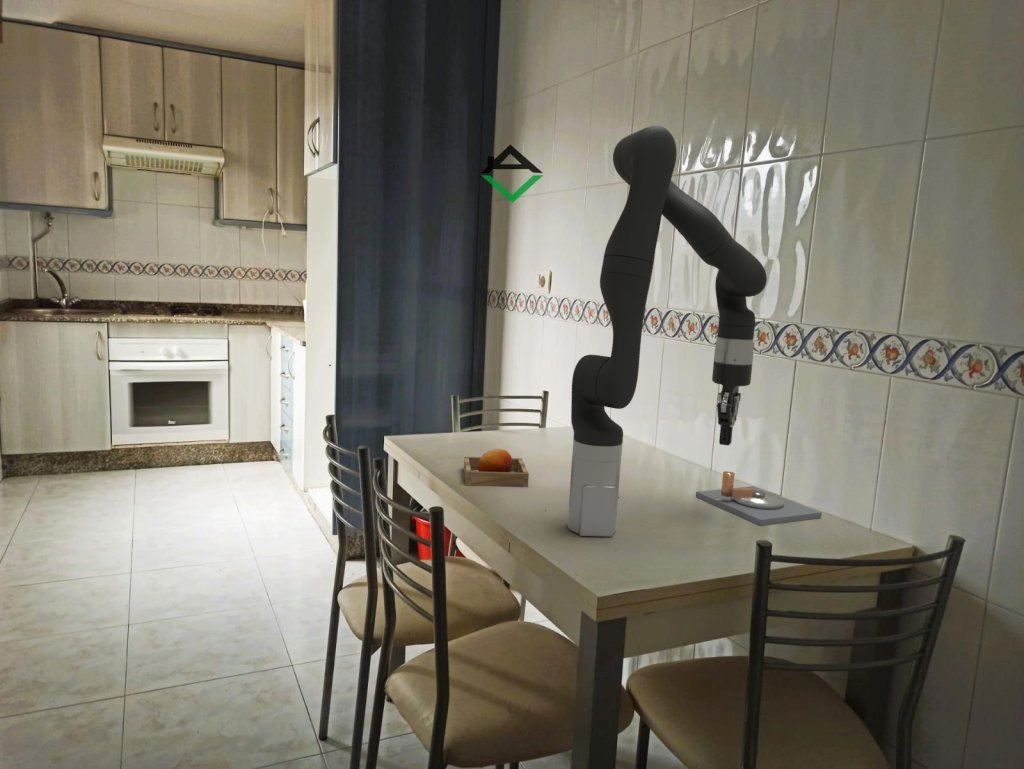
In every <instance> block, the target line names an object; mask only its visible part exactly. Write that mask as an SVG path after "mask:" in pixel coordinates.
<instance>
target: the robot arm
mask: <svg viewBox="0 0 1024 769" xmlns="http://www.w3.org/2000/svg"><path fill="white" fill-rule="evenodd" d="M676 144H677V143H676V141H675V138H674V136H673V134H672V133H671V131H670V130H668V129H667V128H666V127H664V126H661V125H651V126H647V127H645V128H642V129H640V130H637V131H636V132H633V133H630V134H629V135H627V136H625V137H623V138H622V139H620V140H619V141H618V142H617V143H616V145H615V147H614V149H613V153H612V162H613V165H614V166H613V167H614V169H615V171H616V173H617V174H618V176H619V177H620V178H621V179H622V180H623V181H624V182H625V183H626V184H628V186H629V189H628V190H629V191H628V193H627V198H626V202H625V205H624V206H623V207H624V208H623V210H622V212H621V214H620V216H619V218H618V220H617V222H616V224H615V226H614V228H613V230H612V232H611V234H610V236H609V239H608V241H607V242H606V243H607V244H606V246H605V249H604V253H603V257H602V258H603V260H602V265H601V271H600V276H599V278H600V279H599V287H600V293H601V295H602V299H603V302H604V304H605V308H606V310H607V312H608V315H609V318H610V321H611V326H612V346H611V353H610V356H606V355H599V354H586V355H584V356H582V357H581V358H579V360H578V361H577V363H576V365H575V368H574V370H573V374H572V381H571V402H570V403H571V408H570V410H571V411H570V412H571V413H570V417H571V418H570V420H571V421H570V423H571V426H572V430H573V438H572V439H573V440H572V441H573V443H572V454H571V469H570V483H569V496H568V498H569V499H568V511H567V512H568V515H567V528H568V530H570V531H572V532H574V533H576V534H578V535H579V536H581V537H613V534H615V532H616V530H617V517H618V506H619V505H618V502H619V492H620V490H619V489H620V476H621V467H622V466H621V465H622V454H623V442H624V440H623V439H624V430H623V428H622V426H620V425H619V424H618V423H617V422H615V421H614V420H613V419H612V418H611V417H610V416H609V415H608V413H607V412H606V409H605V408H609V409H610V408H611V409H615V410H617V409H618V410H621V409H625V408H626V407H627V406H629V404H630V403H631V401H632V400H633V397H634V395H635V393H636V390H637V389H636V388H637V384H638V379H639V368H640V357H641V355H640V354H641V344H642V343H641V342H642V334H643V333H642V332H643V325H644V320H645V319H644V318H645V313H646V306H647V299H648V296H649V292H650V286H651V285H650V284H651V280H652V276H653V269H654V262H655V256H656V249H657V245H658V244H657V243H658V237H659V234H660V233H659V232H660V228H661V221H662V216H663V217H664V218H665V219H666V220H667V221H668V222H669V223H670V224H671V225H672V226H673V227H674V228H675V229H676V230H677V232H678V233H679V234H680V235H681V236H682V238H684V240H685V241H686V242H687V243H688V244H689V246H690V247H691V248H692V249H693V251H694V252H695V253H696V254H697V256H698V257H699V258H700V259H701V260H702V261H703V262H704V263H705V264H707V265H708V266H711V267H714V268H715V269H717V270H718V271H717V273H716V276H715V285H714V286H715V287H714V288H715V297H716V304H717V306H716V307H717V310H718V316H719V318H718V324H717V325H718V327H717V334H716V336H717V337H716V343H715V345H714V353H713V354H714V356H713V364H712V365H713V366H712V377H711V380H712V382H713V383H714V384H716V385H721V386H722V388H721V392H718V396H717V404H716V411H717V423H718V424H717V425H719V426H720V430H719V440H718V443H719V445H721V446H730V445H731V444H732V441H733V440H732V439H733V427H734V426H735V424H736V421H737V418H738V417H737V416H738V413H739V407H740V402H741V400H742V393H741V392H739V388H740V387H748V386H750V384H751V380H752V372H753V371H752V370H753V361H754V352H755V350H754V349H755V348H754V339H755V337H754V336H755V328H756V315H755V313H754V311H752V310H751V309H749V308H748V305H747V298H749V297H755V296H758V295H759V294H761V293H763V290H765V287H766V286H767V280H768V279H767V273H766V272H767V271H766V270H765V267H764V266H763V264H762V263H761V261H759V259H758V258H757V257H756V256H754V254H752V253H751V252H750V251H749V250H748V249H747V248H745V247H744V246H743V245H742V244H740V243H739V242H738V241H736V240H735V239H734V238H733V237H732V235H731V233H730V232H729V231H728V229H727V228H726V227H725V226H724V225H723V224H722V222H721V221H720V220H719V218H718V217H717V216H716V215H715V214H714V213H713V212H712V211H711V210H710V209H709V208H707V207H706V206H705V205H704V204H702V203H701V202H699V201H698V200H697V199H694V197H692V196H690V195H689V194H687V193H686V192H684V191H683V190H682V189H681V188H680V187H679V186H678V185H676V183H674V182H673V180H672V178H673V174H674V170H675V166H676V162H677V154H678V153H677V145H676Z"/></svg>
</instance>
